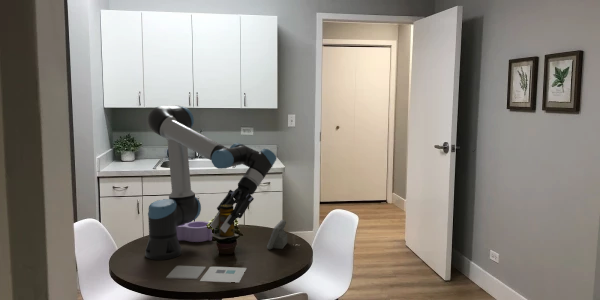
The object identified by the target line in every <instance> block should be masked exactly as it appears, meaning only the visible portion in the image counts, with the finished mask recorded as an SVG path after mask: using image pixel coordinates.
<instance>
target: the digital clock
mask: <svg viewBox="0 0 600 300" xmlns="http://www.w3.org/2000/svg"><path fill="white" fill-rule="evenodd" d="M286 224H287V221H286V220H285V219H281V220H280V221H279V222H278V223H277V224H276V225H275V226H274V228H273V229H272V232H271V234H270V238H269V240H268V241H267V242H268V243H267V245H266V248H267V250H272V249H284V247H286V245H287V244H288V233H286V230H285V227H286Z"/></svg>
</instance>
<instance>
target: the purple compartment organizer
mask: <svg viewBox="0 0 600 300" xmlns="http://www.w3.org/2000/svg"><path fill="white" fill-rule="evenodd" d="M208 223H210V222H209V221H202V220H193V221H192V222H190V223H186V224H183V225H180V226H178V227H177V238H178V241H179V242H180V241H187V242H191V243H194V242H195V243H199V242H200V243H201V242H206V241H212V240H213V237H214V236H212V234H213V233H212V230H211V229H208V228H207V226H206V225H207V224H208Z"/></svg>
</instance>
